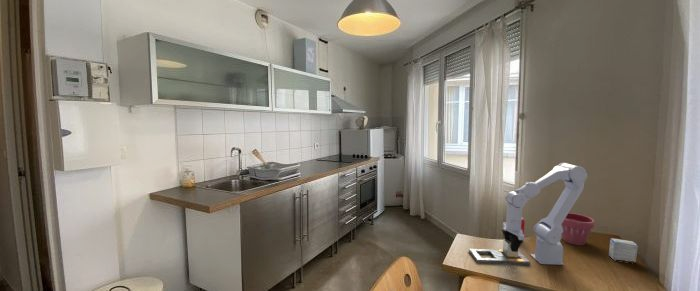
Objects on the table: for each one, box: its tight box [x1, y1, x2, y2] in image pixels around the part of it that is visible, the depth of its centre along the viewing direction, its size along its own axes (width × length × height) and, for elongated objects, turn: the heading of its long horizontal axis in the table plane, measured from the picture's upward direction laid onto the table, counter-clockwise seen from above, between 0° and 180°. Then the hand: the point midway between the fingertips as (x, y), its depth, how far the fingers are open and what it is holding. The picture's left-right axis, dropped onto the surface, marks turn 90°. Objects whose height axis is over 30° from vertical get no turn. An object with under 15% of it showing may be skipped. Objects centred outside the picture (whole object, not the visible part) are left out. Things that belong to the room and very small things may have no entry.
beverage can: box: [521, 216, 526, 236], centre depth 144 cm, size 6×6×12 cm
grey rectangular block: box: [502, 238, 519, 259], centre depth 125 cm, size 4×4×7 cm
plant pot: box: [561, 212, 595, 246], centre depth 143 cm, size 14×14×13 cm
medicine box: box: [608, 237, 639, 262], centre depth 125 cm, size 8×4×9 cm, turn 65°
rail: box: [468, 248, 531, 266], centre depth 125 cm, size 22×10×2 cm, turn 87°
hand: (511, 248), depth 125 cm, fingers closed on grey rectangular block, 4 cm apart
